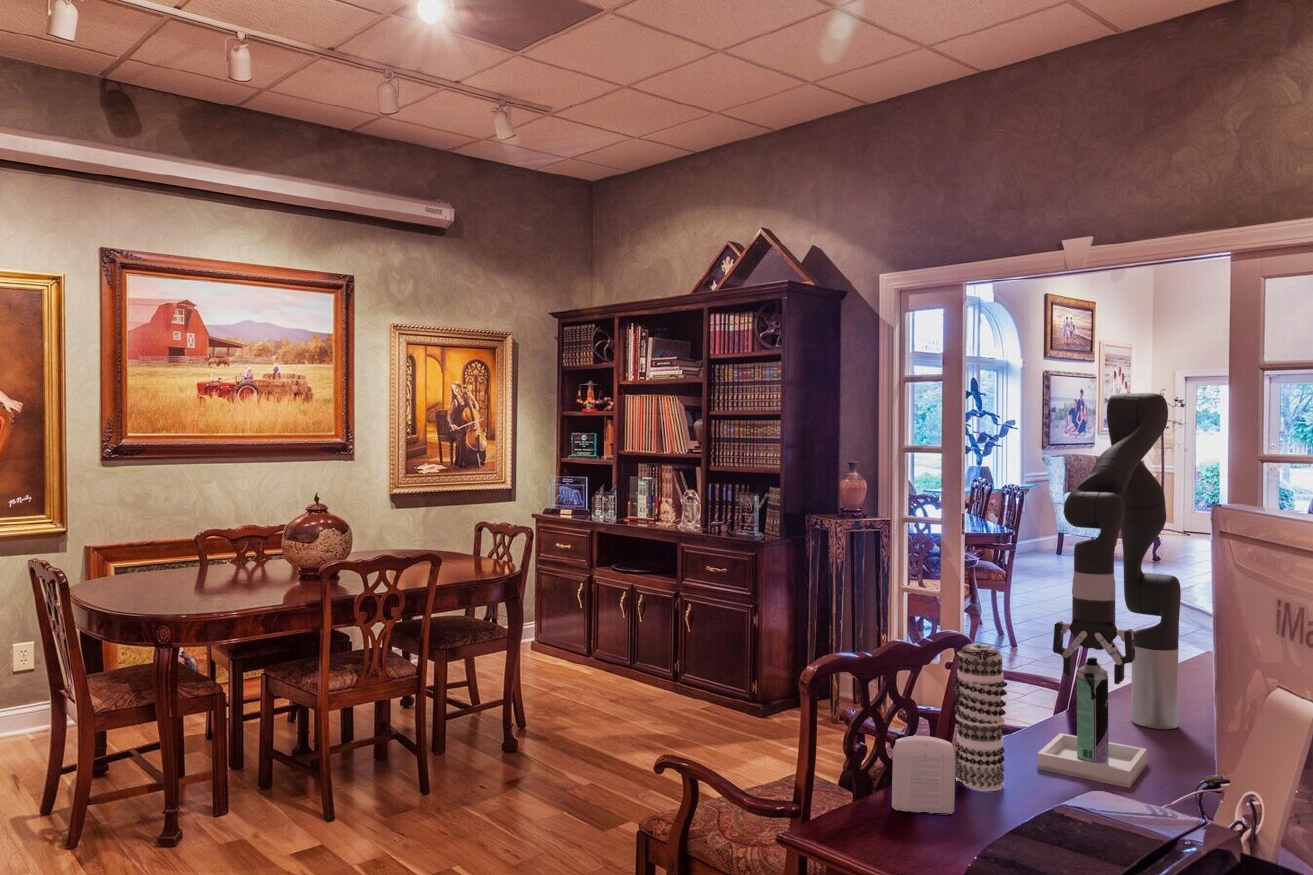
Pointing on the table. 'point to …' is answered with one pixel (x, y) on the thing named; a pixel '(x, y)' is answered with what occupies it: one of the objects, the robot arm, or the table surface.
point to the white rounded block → (923, 775)
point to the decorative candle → (980, 717)
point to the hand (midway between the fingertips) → (1093, 679)
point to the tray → (1118, 771)
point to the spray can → (1092, 713)
